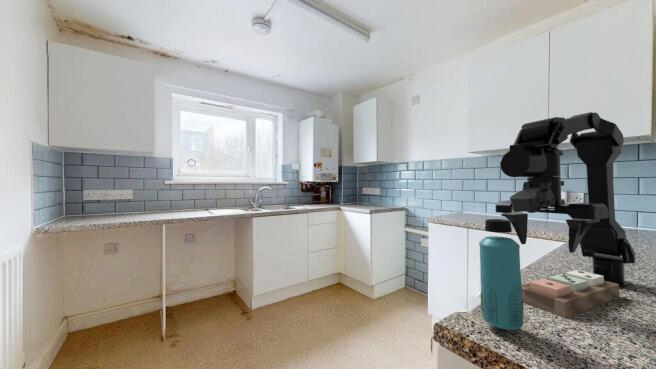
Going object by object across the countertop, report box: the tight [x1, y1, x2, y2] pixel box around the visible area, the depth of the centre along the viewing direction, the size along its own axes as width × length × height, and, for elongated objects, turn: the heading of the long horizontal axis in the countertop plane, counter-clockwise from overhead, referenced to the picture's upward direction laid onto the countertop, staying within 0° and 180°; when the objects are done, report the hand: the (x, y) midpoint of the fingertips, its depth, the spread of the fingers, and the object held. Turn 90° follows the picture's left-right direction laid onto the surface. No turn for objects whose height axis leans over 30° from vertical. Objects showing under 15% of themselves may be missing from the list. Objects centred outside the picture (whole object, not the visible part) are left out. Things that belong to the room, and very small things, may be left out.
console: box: [521, 274, 620, 319], centre depth 60 cm, size 22×9×3 cm, turn 113°
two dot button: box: [565, 269, 604, 287], centre depth 63 cm, size 5×5×3 cm
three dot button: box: [547, 273, 588, 292], centre depth 60 cm, size 5×5×3 cm
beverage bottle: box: [478, 218, 525, 331], centre depth 48 cm, size 6×7×20 cm
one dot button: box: [529, 278, 570, 298], centre depth 57 cm, size 5×5×3 cm
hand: (545, 248), depth 58 cm, fingers open, 9 cm apart
